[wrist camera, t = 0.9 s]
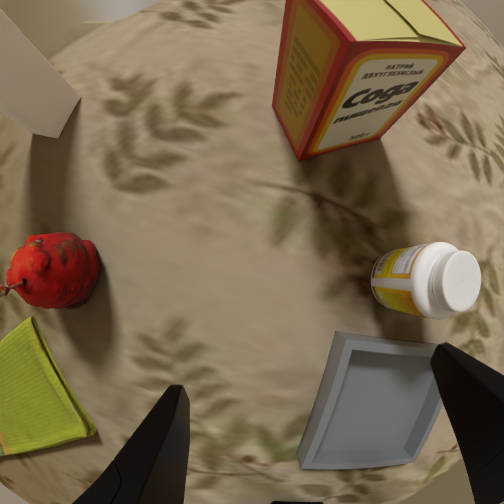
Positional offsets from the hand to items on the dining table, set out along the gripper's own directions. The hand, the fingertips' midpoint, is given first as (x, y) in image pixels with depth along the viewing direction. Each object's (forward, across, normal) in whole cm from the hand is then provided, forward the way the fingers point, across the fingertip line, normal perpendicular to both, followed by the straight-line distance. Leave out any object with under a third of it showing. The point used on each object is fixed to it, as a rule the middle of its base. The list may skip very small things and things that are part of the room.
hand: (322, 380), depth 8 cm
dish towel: (+8, +40, +20) cm, 45 cm away
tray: (+8, -10, +17) cm, 21 cm away
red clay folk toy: (+16, +19, +3) cm, 25 cm away
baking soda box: (+22, -7, -8) cm, 25 cm away
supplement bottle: (+15, -11, +6) cm, 20 cm away
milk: (+26, +24, -14) cm, 38 cm away
